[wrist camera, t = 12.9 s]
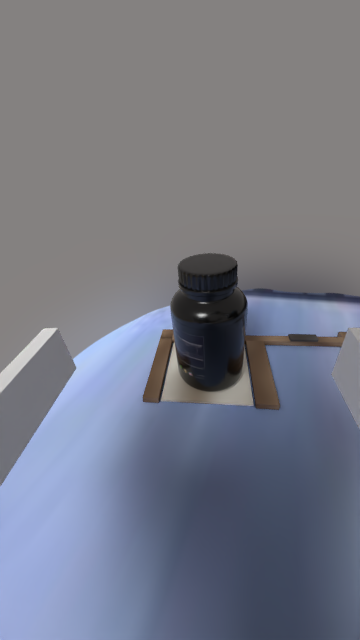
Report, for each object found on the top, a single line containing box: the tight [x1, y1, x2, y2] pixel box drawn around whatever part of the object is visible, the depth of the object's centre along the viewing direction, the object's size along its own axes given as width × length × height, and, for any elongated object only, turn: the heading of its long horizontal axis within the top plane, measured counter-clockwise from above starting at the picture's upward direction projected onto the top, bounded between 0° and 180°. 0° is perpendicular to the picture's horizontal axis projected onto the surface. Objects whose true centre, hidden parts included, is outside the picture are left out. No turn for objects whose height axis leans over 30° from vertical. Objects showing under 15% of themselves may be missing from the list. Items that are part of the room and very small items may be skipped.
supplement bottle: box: [170, 253, 247, 392], centre depth 23 cm, size 7×7×12 cm
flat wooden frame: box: [143, 330, 347, 410], centre depth 26 cm, size 23×11×1 cm, turn 83°
